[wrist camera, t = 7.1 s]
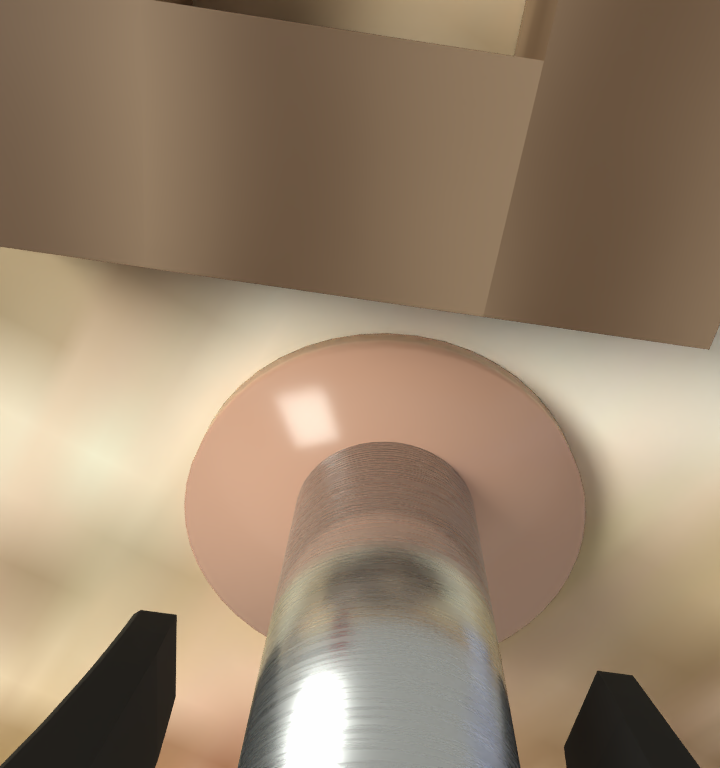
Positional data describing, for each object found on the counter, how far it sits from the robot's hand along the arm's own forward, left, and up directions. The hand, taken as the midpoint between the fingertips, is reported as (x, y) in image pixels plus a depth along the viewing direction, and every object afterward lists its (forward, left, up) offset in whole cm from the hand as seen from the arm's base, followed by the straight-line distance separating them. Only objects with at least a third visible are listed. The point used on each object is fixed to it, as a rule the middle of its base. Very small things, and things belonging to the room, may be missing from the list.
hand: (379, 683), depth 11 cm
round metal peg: (0, 0, -4) cm, 4 cm away
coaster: (0, 0, -5) cm, 5 cm away
